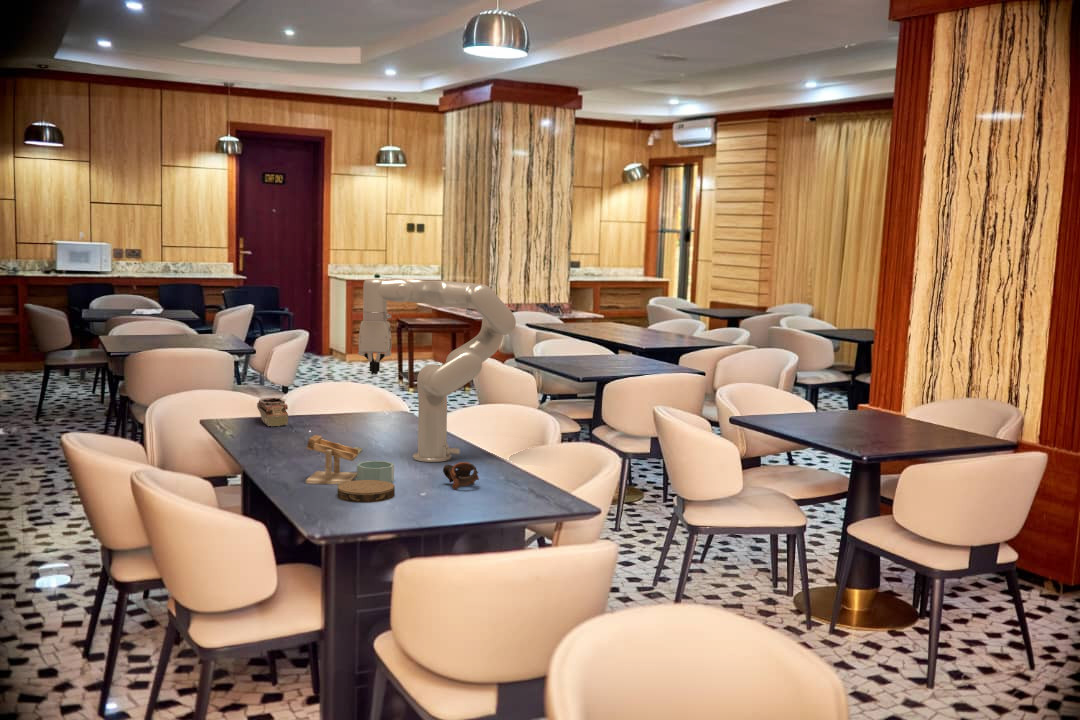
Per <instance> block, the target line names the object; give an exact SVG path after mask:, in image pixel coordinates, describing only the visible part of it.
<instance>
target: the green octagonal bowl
mask: <svg viewBox="0 0 1080 720" xmlns="http://www.w3.org/2000/svg"><path fill="white" fill-rule="evenodd" d="M382 467H383V468H382ZM356 473H357V478H356V480H380V481H386V482H390V483H392V484H393V482H394V481H395V463H393V462H389V461H386V460H368V461H361V462H359V463H358V464H356Z"/></svg>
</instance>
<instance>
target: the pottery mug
mask: <svg viewBox="0 0 1080 720" xmlns="http://www.w3.org/2000/svg"><path fill="white" fill-rule="evenodd" d="M472 471H473V473H472V474H471V472H472ZM442 472H443V475H444V476H445V478H447V479H448V482H449V483H452V486H451V487H452V489H454V490H455V491H456V490H458V488H461V487H466V486H470V485H474V484H475V483H476V481H479V480H480V477H479V475H478V474H479V471H478V470H477V467H476V466H475V465H474V464H473V463H470V462H465V461H464V462H463V461H461V462H458V463H455V464H454V465H452V464H446V465H444V466H443V468H442Z"/></svg>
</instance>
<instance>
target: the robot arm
mask: <svg viewBox="0 0 1080 720" xmlns="http://www.w3.org/2000/svg"><path fill="white" fill-rule="evenodd" d="M362 296H363V298H362V300H363V303H362V304H363V306H362V307H363V308H362V309H363V311H362V313H363V315H362V316H363V317H362V320H361V321H360V326H359V333H358V352H357V354H358V355H357V356H361V357H365V358H366V360H367V361H368V362H369V372H371V373H370V374H371V375H378V373H380V372H381V371H380V370H381V367H380V366H381V365H380V364H381V363H380V362H381V361H382V360H383V359H384V358H387V357H390V356H392V351H391V350H392V331H391V323H390V321H388V320H389V319H392V313H390V314H389V313H388V301H389V302H396V303H404V302H406V303H407V302H408V303H417V304H418V303H420V304H424V305H430V306H433V307H446V308H459V309H473V310H474V309H475V310H476V311H477V313H479V314H480V316H481V317H482V319H481V328H480V331H479V332H478V334H477V335H475V336H474V337H473V338H472V339H470V340H469V341H467V342H466V343H464V344H461V346H459V347H457V348H455V349H453V350H452V351H451V352H450V353H448V355H447V357H446V358H445V359H446V360H445V363H443V364H442V365H438V364H427V365H425V366H423V367H421V368H420V371H419V372H418V375H417V379H416V381H417V382H416V384H417V395H418V413H417V414H418V415H417V416H418V421H417V422H418V423H417V425H418V426H417V432H418V433H417V434H418V435H417V452H415V453H413V456H412V458H413V460H415V461H419V462H427V463H438V462H439V463H440V462H447V461H449V460H451V459H452V455H458V456H459V455H460V448H457V447H450V446H449V443H447V440H448V439H447V434H448V431H447V429H448V426H447V425H448V398H447V396H448V395H451V394H452V393H454V392H455V391H457V390H458V389H460V388H462V387H464V386H465V385H466V384H468V383H470V382H471V381H473V380H474V379H475V378H477V376H479V374H480V373H481V371H482V368H483V363H484V362H486V361H487V360H488V359H490V358H491V357H492V356H494V355H495V354H496V352H497V351H499V349H500V347H501V344H502V341H503V337H504V336H506V335H509V334H511V333H512V332H513V331H514V330H515V328H516V324H517V320H516V316H515V315H514V313H513V312H512V311H511V309H510V308H509V307H508V306H507V305H506V304H505V303H504V301H503V300H502V299H501V298H500V297H499V296H498V295H497V293H495V292H494V290H493V289H492V288H491V287H489V286H488V285H487V284H482V283H474V282H460V281H448V280H439V279H438V280H419V279H407V278H398V277H394V278H389V279H387V280H385V279H381V278H368V279H365V280H364V281H363V294H362ZM374 353H376V355H375V356H376V357H375V359H374Z"/></svg>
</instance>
